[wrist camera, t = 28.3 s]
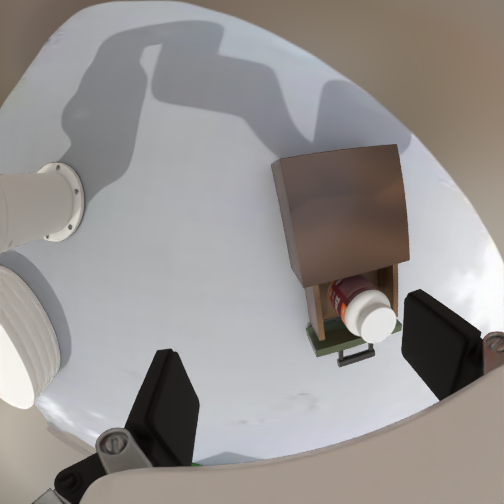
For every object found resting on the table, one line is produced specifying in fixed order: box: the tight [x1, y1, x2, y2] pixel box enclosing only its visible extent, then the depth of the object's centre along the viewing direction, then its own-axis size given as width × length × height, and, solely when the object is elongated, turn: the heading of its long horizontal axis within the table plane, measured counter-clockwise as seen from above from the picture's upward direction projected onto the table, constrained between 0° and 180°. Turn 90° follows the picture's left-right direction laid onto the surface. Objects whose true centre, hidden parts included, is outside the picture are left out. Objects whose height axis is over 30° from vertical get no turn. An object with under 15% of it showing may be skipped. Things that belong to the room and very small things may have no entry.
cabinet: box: [271, 144, 410, 288], centre depth 33 cm, size 15×15×8 cm
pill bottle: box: [327, 274, 396, 343], centre depth 33 cm, size 6×6×11 cm
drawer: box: [305, 264, 402, 367], centre depth 36 cm, size 18×13×6 cm
